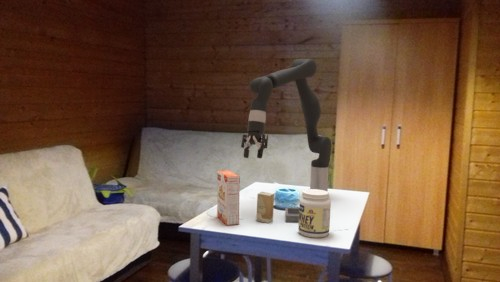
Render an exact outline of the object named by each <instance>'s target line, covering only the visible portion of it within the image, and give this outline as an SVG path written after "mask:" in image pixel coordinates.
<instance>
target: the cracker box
mask: <svg viewBox="0 0 500 282" xmlns="http://www.w3.org/2000/svg"><path fill="white" fill-rule="evenodd" d="M240 179H241V177H240V175H238V174H236V173H235V172H233V171H232V170H230V169H228V170H227V169H225V170H224V169H223V170H217V181H216V182H217V190H216V191H217V194H216V197H217V199H216V201H217V203H216V204H217V207H216V209H217V211H216V216H217V217H218V219H219V220H220V221H222V222H223V224H225V226H234V225H235V226H236V225H240V188H241V186H240V184H241V183H240V182H241V181H240Z"/></svg>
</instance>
